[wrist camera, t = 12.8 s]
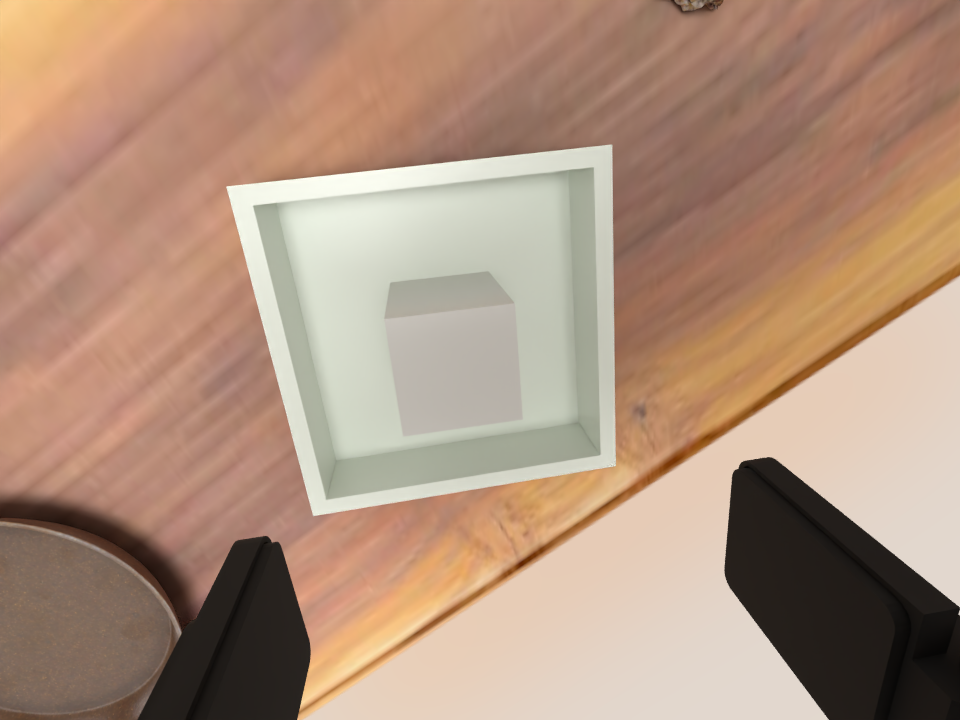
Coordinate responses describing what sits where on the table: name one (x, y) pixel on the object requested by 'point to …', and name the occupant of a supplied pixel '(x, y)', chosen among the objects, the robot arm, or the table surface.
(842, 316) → the table surface
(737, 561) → the robot arm
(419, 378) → the stone block
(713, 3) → the mineral rock
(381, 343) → the sage bin
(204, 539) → the table surface
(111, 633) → the plant saucer
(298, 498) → the table surface
